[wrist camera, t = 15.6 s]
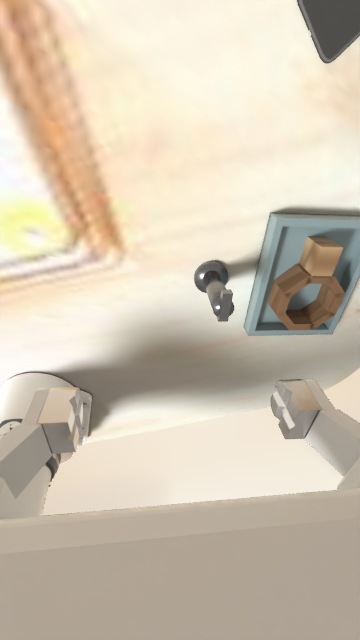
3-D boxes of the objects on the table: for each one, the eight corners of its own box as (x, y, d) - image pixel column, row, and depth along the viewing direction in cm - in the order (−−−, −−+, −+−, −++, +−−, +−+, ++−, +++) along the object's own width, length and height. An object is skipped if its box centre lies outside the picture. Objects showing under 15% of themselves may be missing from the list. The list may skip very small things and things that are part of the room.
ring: (316, 315, 48) (328, 329, 44) (263, 316, 46) (272, 330, 43) (348, 237, 40) (365, 248, 37) (285, 236, 39) (298, 246, 36)
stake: (224, 291, 44) (240, 327, 36) (192, 291, 43) (202, 328, 35) (229, 261, 41) (248, 293, 33) (195, 260, 40) (207, 293, 33)
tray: (324, 325, 50) (332, 334, 48) (243, 326, 48) (247, 335, 46) (372, 216, 39) (385, 221, 37) (270, 212, 37) (277, 218, 35)
